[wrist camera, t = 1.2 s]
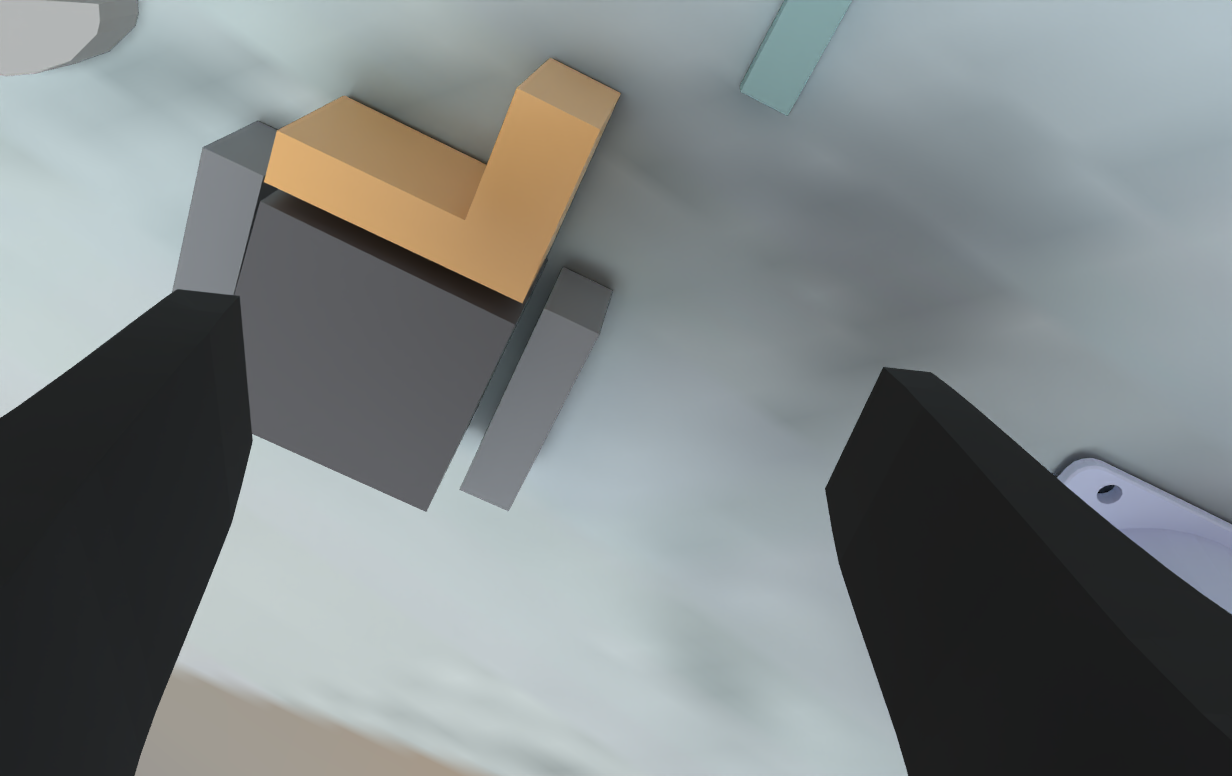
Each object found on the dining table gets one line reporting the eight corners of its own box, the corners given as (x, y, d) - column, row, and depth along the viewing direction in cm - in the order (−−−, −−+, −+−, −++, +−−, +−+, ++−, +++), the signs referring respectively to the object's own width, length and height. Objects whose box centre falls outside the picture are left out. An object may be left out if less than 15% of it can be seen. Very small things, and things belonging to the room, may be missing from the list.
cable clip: (612, 290, 19) (599, 334, 17) (528, 456, 22) (508, 511, 20) (257, 120, 18) (202, 146, 16) (211, 314, 21) (158, 357, 19)
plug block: (549, 256, 19) (515, 324, 16) (468, 425, 22) (426, 511, 19) (336, 151, 19) (260, 201, 16) (278, 336, 21) (202, 411, 18)
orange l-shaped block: (621, 93, 17) (600, 129, 14) (551, 246, 19) (522, 303, 16) (379, -29, 16) (313, -14, 14) (331, 140, 18) (263, 182, 16)
